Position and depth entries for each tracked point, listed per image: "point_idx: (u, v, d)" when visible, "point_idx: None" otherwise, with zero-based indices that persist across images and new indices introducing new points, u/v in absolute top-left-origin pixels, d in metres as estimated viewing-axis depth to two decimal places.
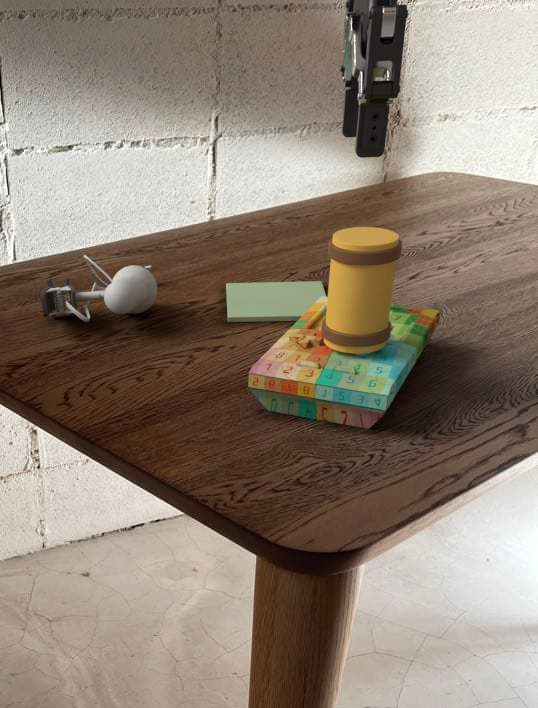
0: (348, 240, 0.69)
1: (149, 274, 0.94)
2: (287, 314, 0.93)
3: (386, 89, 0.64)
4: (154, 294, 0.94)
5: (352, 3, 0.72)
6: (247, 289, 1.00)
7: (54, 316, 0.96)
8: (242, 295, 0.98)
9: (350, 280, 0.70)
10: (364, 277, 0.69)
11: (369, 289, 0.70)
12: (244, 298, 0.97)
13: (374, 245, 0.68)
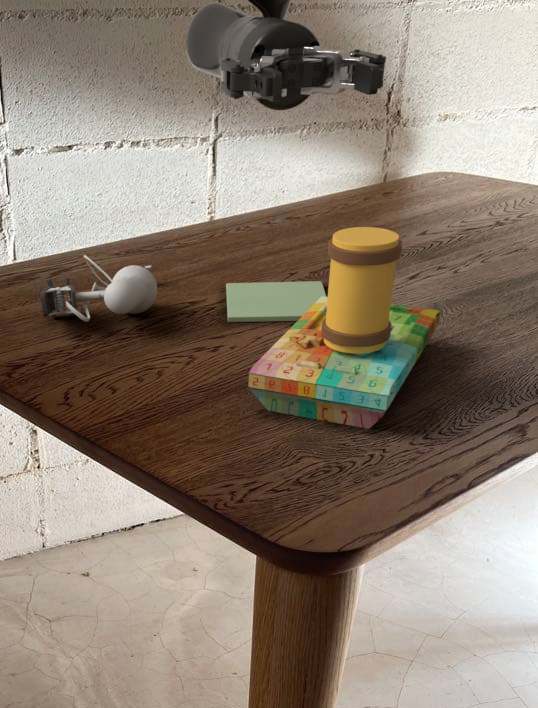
0: (348, 240, 0.69)
1: (149, 274, 0.94)
2: (287, 314, 0.93)
3: (230, 78, 0.77)
4: (154, 294, 0.94)
5: None
6: (247, 289, 1.00)
7: (54, 316, 0.96)
8: (242, 295, 0.98)
9: (351, 280, 0.70)
10: (364, 277, 0.69)
11: (369, 289, 0.70)
12: (244, 298, 0.97)
13: (374, 245, 0.68)
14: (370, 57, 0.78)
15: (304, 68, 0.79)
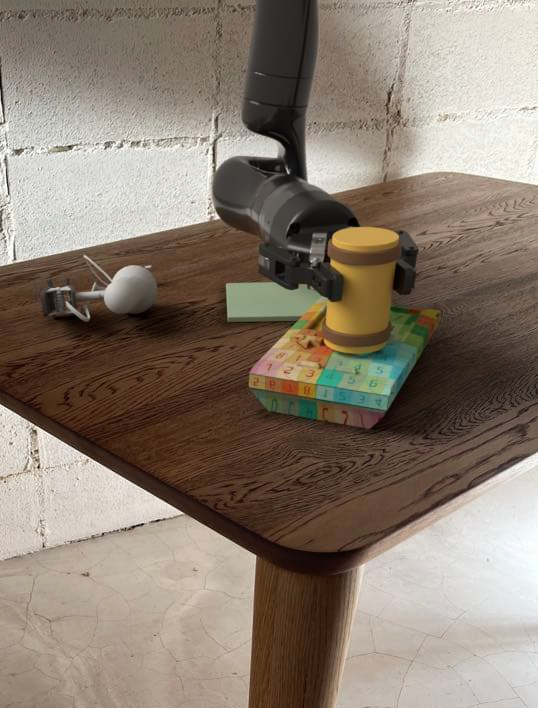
0: (348, 240, 0.69)
1: (149, 274, 0.94)
2: (287, 314, 0.93)
3: (285, 270, 0.73)
4: (154, 294, 0.94)
5: None
6: (247, 289, 1.00)
7: (54, 316, 0.96)
8: (242, 295, 0.98)
9: (350, 280, 0.70)
10: (364, 277, 0.69)
11: (369, 289, 0.70)
12: (244, 298, 0.97)
13: (374, 245, 0.68)
14: (402, 247, 0.74)
15: None
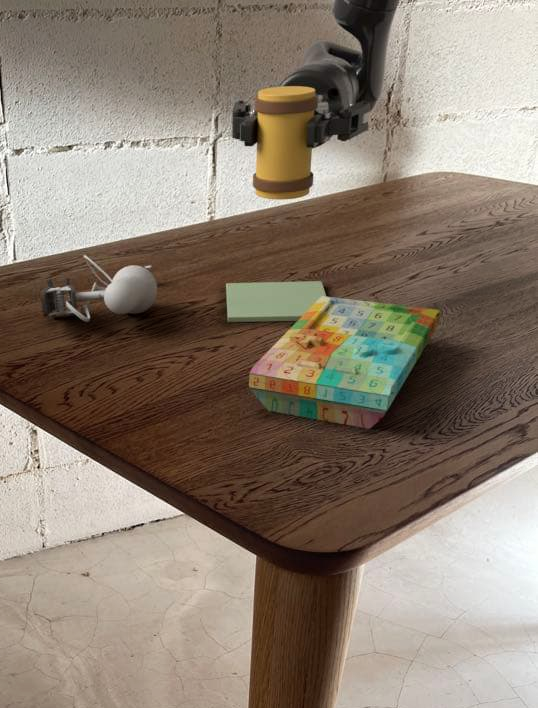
0: (265, 92, 0.80)
1: (149, 274, 0.94)
2: (287, 314, 0.93)
3: None
4: (154, 294, 0.94)
5: None
6: (247, 289, 1.00)
7: (54, 316, 0.96)
8: (242, 295, 0.98)
9: (262, 128, 0.81)
10: (270, 125, 0.80)
11: (275, 137, 0.80)
12: (244, 298, 0.97)
13: (277, 95, 0.78)
14: (342, 110, 0.82)
15: None
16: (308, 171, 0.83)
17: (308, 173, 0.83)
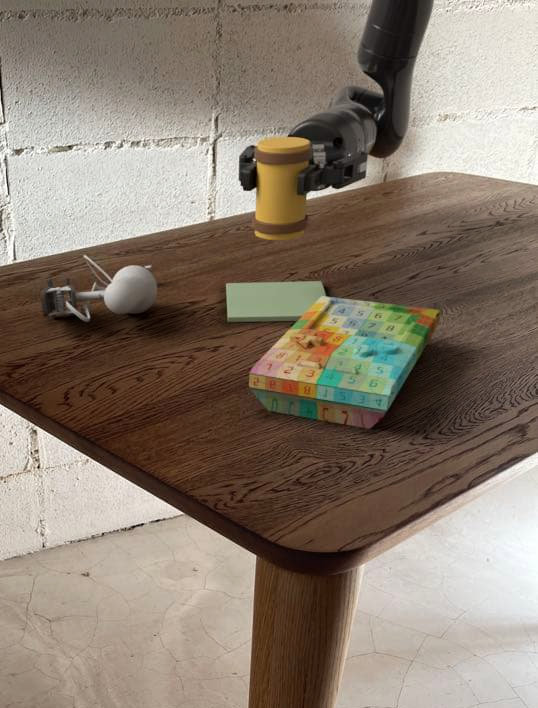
0: (264, 142, 0.88)
1: (149, 274, 0.94)
2: (287, 314, 0.93)
3: None
4: (154, 294, 0.94)
5: None
6: (247, 289, 1.00)
7: (54, 316, 0.96)
8: (242, 295, 0.98)
9: (259, 175, 0.89)
10: (266, 174, 0.88)
11: (270, 184, 0.88)
12: (244, 298, 0.97)
13: (272, 147, 0.86)
14: (337, 161, 0.89)
15: None
16: (301, 215, 0.90)
17: (301, 217, 0.90)
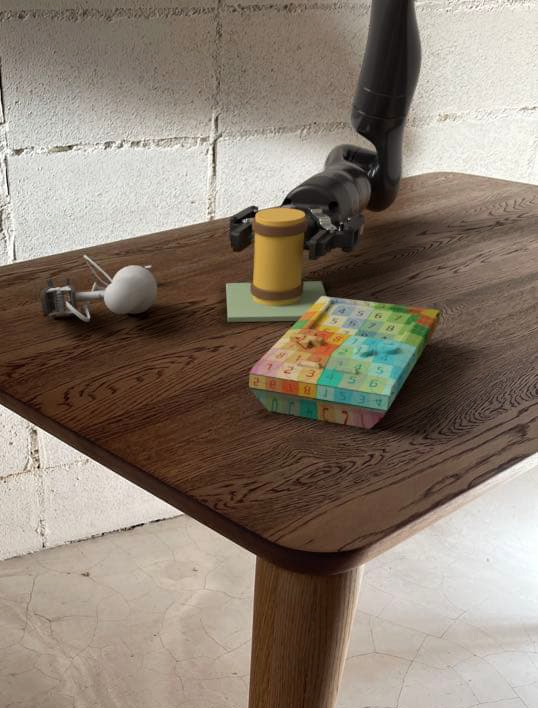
0: (261, 214, 0.92)
1: (149, 274, 0.94)
2: (287, 314, 0.93)
3: None
4: (154, 294, 0.94)
5: None
6: (247, 289, 1.00)
7: (54, 316, 0.96)
8: (242, 295, 0.98)
9: (257, 245, 0.93)
10: (263, 244, 0.92)
11: (267, 254, 0.92)
12: (244, 298, 0.97)
13: (269, 220, 0.90)
14: (344, 226, 0.93)
15: None
16: (297, 282, 0.94)
17: (297, 284, 0.94)
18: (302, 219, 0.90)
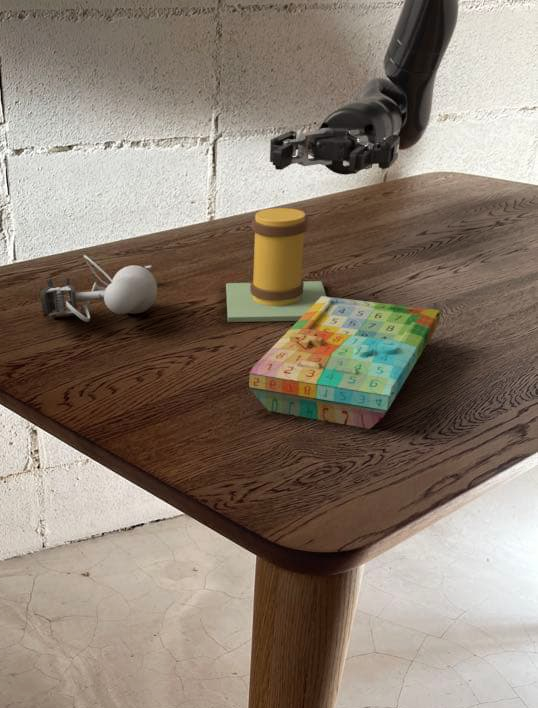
0: (261, 214, 0.92)
1: (149, 274, 0.94)
2: (287, 314, 0.93)
3: None
4: (154, 294, 0.94)
5: None
6: (247, 289, 1.00)
7: (54, 316, 0.96)
8: (242, 295, 0.98)
9: (257, 245, 0.93)
10: (263, 244, 0.92)
11: (267, 254, 0.92)
12: (244, 298, 0.97)
13: (269, 220, 0.90)
14: (382, 143, 0.98)
15: (332, 146, 1.01)
16: (297, 282, 0.94)
17: (297, 284, 0.94)
18: (302, 219, 0.90)
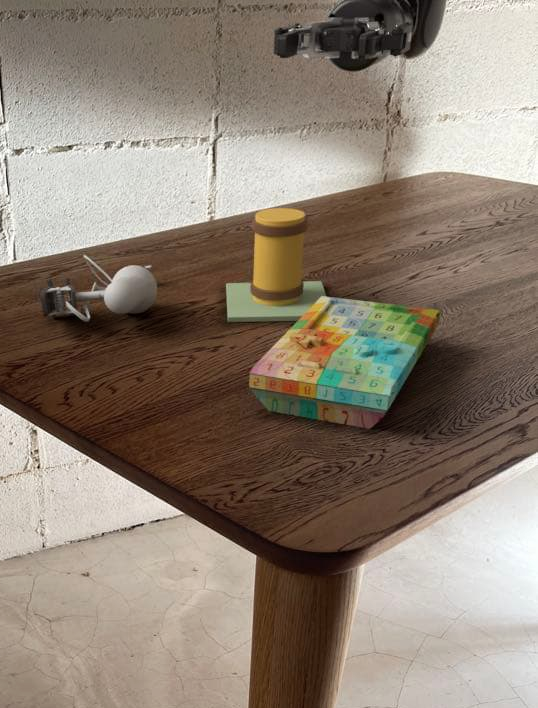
0: (261, 214, 0.92)
1: (149, 274, 0.94)
2: (287, 314, 0.93)
3: None
4: (154, 294, 0.94)
5: None
6: (247, 289, 1.00)
7: (54, 316, 0.96)
8: (242, 295, 0.98)
9: (257, 245, 0.93)
10: (263, 244, 0.92)
11: (267, 254, 0.92)
12: (244, 298, 0.97)
13: (269, 220, 0.90)
14: None
15: (340, 34, 0.95)
16: (297, 282, 0.94)
17: (297, 284, 0.94)
18: (302, 219, 0.90)
